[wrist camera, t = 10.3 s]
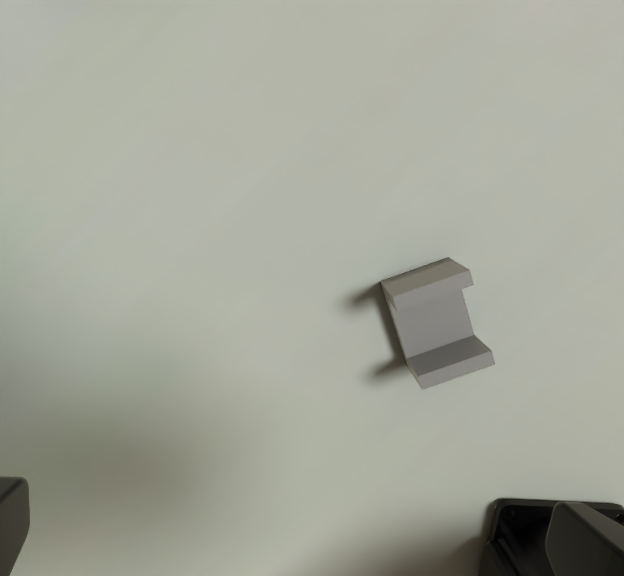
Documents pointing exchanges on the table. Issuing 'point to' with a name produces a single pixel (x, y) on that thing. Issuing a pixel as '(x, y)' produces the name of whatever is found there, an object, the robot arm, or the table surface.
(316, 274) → the table surface
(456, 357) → the clip
